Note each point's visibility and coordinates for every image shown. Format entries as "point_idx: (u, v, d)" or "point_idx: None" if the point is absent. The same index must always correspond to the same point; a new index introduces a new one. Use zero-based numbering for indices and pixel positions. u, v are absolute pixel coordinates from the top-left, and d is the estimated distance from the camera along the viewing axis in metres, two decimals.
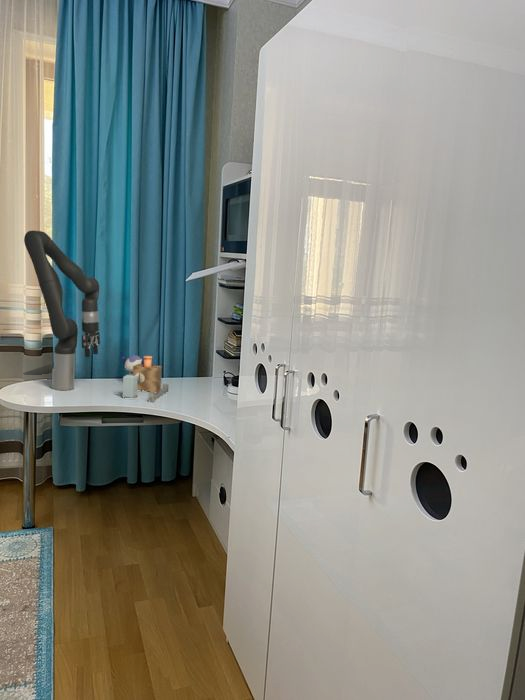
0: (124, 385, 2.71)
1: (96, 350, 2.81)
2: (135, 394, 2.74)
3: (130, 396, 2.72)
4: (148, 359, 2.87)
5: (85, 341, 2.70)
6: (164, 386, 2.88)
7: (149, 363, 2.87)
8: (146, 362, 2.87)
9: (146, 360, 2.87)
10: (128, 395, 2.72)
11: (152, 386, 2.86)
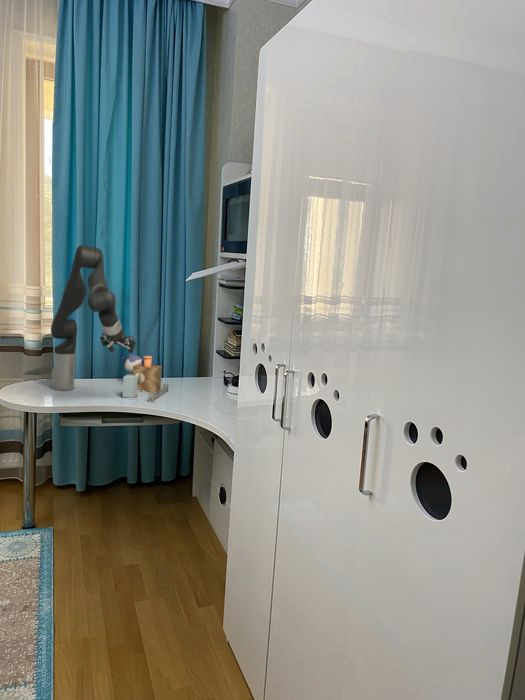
0: (124, 385, 2.71)
1: None
2: (135, 394, 2.74)
3: (130, 396, 2.72)
4: (148, 359, 2.87)
5: None
6: (164, 386, 2.88)
7: (149, 363, 2.87)
8: (146, 362, 2.87)
9: (146, 360, 2.87)
10: (128, 395, 2.72)
11: (152, 386, 2.86)
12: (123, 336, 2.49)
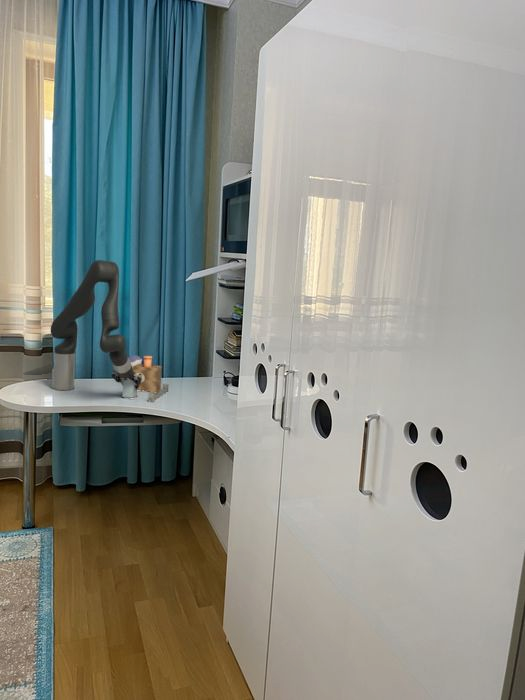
0: (124, 385, 2.71)
1: None
2: (135, 394, 2.74)
3: (130, 396, 2.72)
4: (148, 359, 2.87)
5: None
6: (164, 386, 2.88)
7: (149, 363, 2.87)
8: (146, 362, 2.87)
9: (146, 360, 2.87)
10: (128, 395, 2.72)
11: (152, 386, 2.86)
12: (132, 373, 2.65)
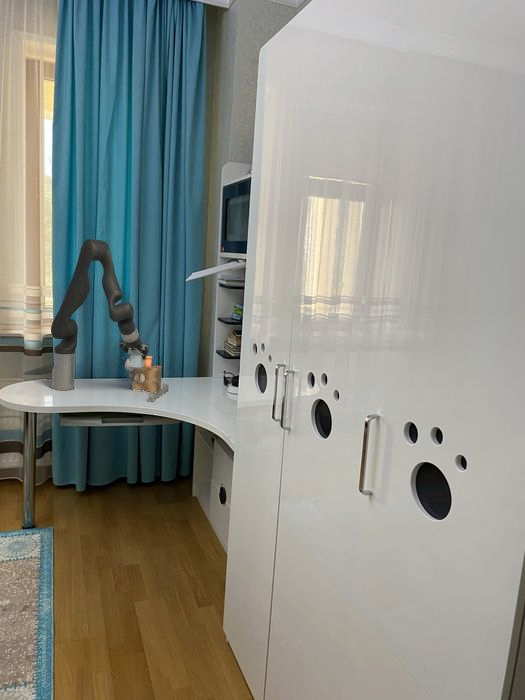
0: (132, 355, 2.77)
1: None
2: (142, 364, 2.80)
3: (137, 366, 2.77)
4: (148, 359, 2.87)
5: None
6: (164, 386, 2.88)
7: (149, 363, 2.87)
8: (146, 362, 2.87)
9: (146, 360, 2.87)
10: (135, 366, 2.77)
11: (152, 386, 2.86)
12: (140, 343, 2.71)
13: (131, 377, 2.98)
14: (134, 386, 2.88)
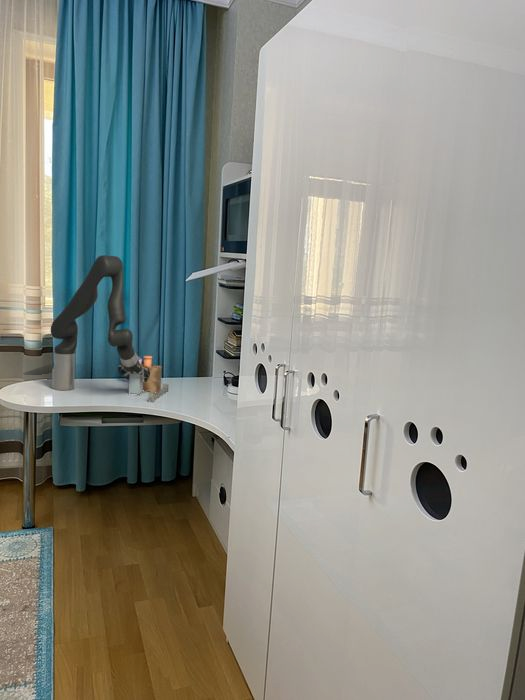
0: (130, 382, 2.79)
1: None
2: (141, 390, 2.82)
3: (136, 392, 2.79)
4: (148, 359, 2.87)
5: None
6: (164, 386, 2.88)
7: (149, 363, 2.87)
8: (146, 362, 2.87)
9: (146, 360, 2.87)
10: (134, 392, 2.79)
11: (152, 386, 2.86)
12: (139, 367, 2.73)
13: None
14: None
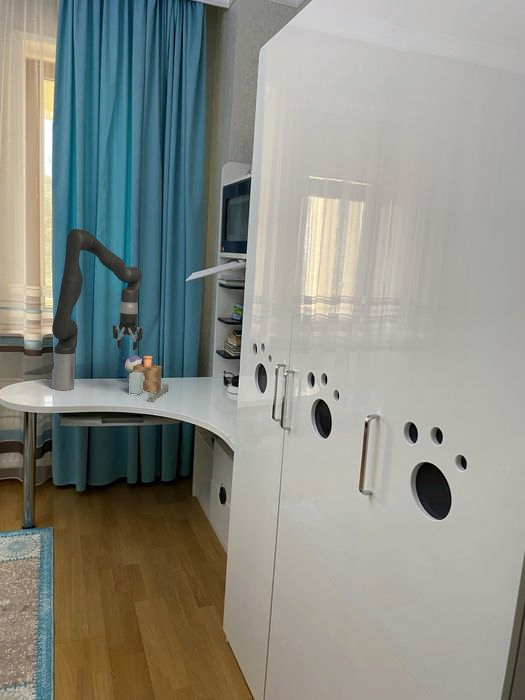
0: (130, 382, 2.79)
1: None
2: (141, 390, 2.82)
3: (136, 392, 2.79)
4: (148, 359, 2.87)
5: None
6: (164, 386, 2.88)
7: (149, 363, 2.87)
8: (146, 362, 2.87)
9: (146, 360, 2.87)
10: (134, 392, 2.79)
11: (152, 386, 2.86)
12: (135, 323, 2.63)
13: None
14: None
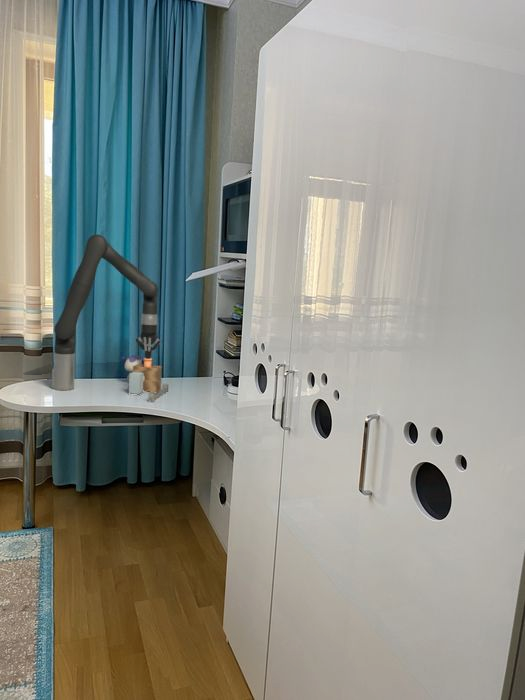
0: (130, 382, 2.79)
1: None
2: (141, 390, 2.82)
3: (136, 392, 2.79)
4: (148, 361, 2.87)
5: None
6: (164, 386, 2.88)
7: (149, 365, 2.87)
8: (146, 364, 2.87)
9: (146, 362, 2.87)
10: (134, 392, 2.79)
11: (152, 386, 2.86)
12: (156, 333, 2.85)
13: None
14: None
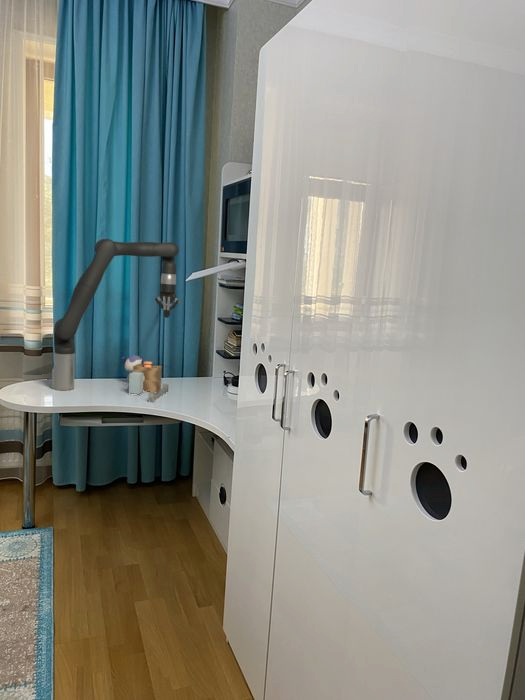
0: (130, 382, 2.79)
1: None
2: (141, 390, 2.82)
3: (136, 392, 2.79)
4: (148, 365, 2.87)
5: None
6: (164, 386, 2.88)
7: None
8: None
9: (146, 366, 2.87)
10: (134, 392, 2.79)
11: (152, 386, 2.86)
12: (174, 293, 2.95)
13: None
14: None
